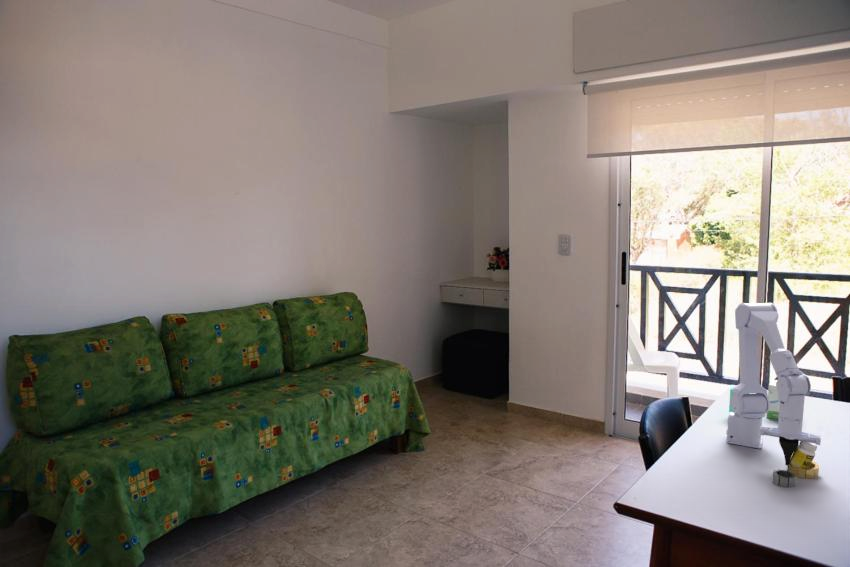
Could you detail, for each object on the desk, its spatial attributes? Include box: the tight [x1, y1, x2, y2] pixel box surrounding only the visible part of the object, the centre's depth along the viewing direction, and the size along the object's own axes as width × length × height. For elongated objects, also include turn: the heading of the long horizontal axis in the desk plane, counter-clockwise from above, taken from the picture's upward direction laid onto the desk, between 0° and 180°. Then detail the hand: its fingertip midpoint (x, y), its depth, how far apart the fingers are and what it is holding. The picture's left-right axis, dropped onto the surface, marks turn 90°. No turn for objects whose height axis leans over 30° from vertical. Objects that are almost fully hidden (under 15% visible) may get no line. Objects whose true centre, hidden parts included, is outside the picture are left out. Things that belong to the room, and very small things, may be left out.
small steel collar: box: [771, 469, 796, 489], centre depth 161 cm, size 5×5×2 cm
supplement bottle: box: [789, 441, 818, 469], centre depth 167 cm, size 5×5×8 cm
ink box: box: [766, 379, 780, 420], centre depth 211 cm, size 8×5×12 cm, turn 146°
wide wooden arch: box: [786, 456, 820, 480], centre depth 167 cm, size 7×8×2 cm
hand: (787, 463), depth 169 cm, fingers closed, pressing on supplement bottle
